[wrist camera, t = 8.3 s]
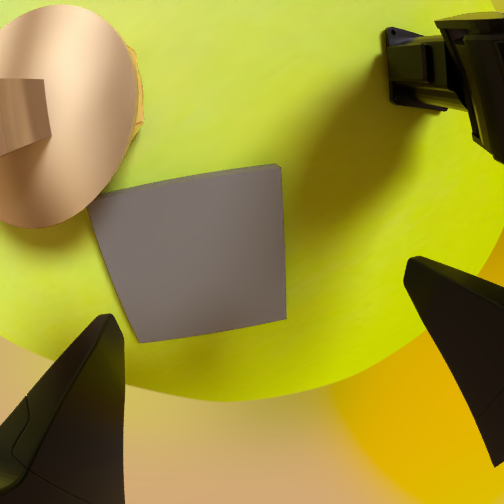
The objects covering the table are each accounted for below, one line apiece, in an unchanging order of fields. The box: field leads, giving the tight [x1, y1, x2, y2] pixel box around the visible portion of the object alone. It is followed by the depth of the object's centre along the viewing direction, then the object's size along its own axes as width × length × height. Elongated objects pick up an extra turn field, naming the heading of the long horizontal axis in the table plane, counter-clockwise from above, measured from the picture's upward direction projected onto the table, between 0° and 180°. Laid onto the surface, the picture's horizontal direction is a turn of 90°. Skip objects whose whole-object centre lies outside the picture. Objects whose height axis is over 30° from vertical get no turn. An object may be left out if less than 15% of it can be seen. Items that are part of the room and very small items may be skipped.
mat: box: [87, 164, 286, 343], centre depth 21 cm, size 13×13×1 cm
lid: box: [0, 5, 139, 229], centre depth 8 cm, size 12×12×5 cm
